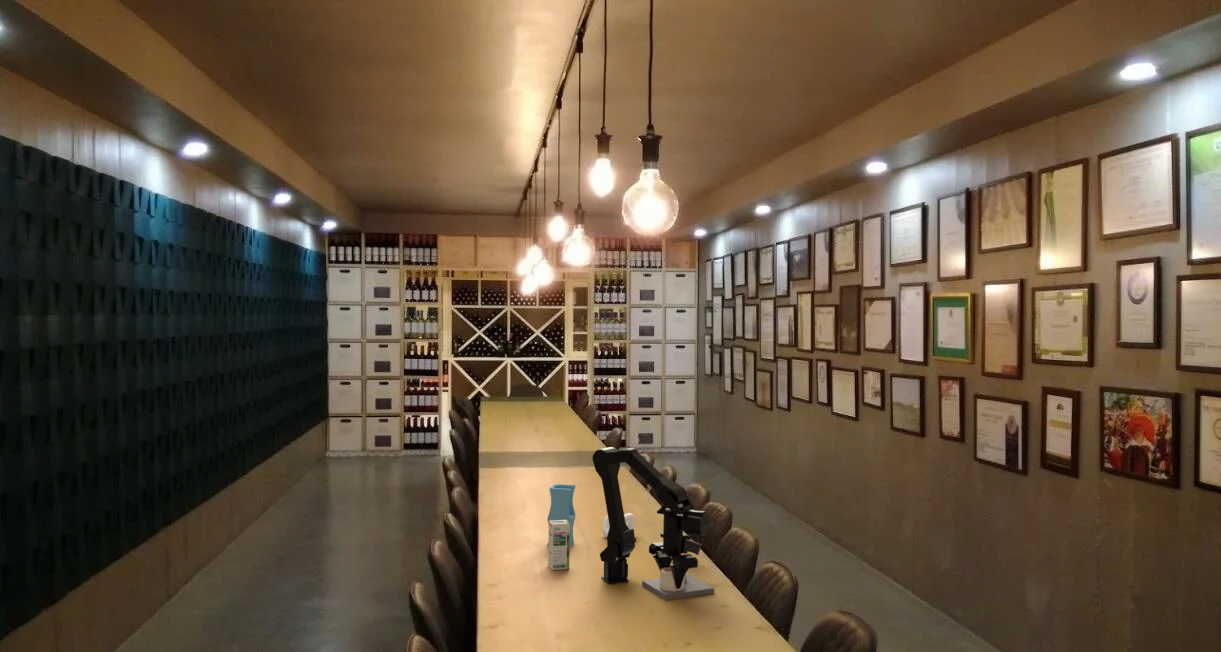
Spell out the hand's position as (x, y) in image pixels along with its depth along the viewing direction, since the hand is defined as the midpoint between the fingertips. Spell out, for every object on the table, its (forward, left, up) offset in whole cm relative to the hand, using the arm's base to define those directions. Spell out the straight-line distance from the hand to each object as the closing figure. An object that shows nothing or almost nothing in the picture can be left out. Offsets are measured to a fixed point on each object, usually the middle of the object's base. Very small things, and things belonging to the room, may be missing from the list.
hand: (672, 585), depth 239 cm
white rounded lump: (+12, +61, -2) cm, 62 cm away
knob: (0, 0, -1) cm, 1 cm away
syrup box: (-21, +35, -2) cm, 41 cm away
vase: (-10, +60, -2) cm, 61 cm away
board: (+3, +2, -2) cm, 4 cm away
